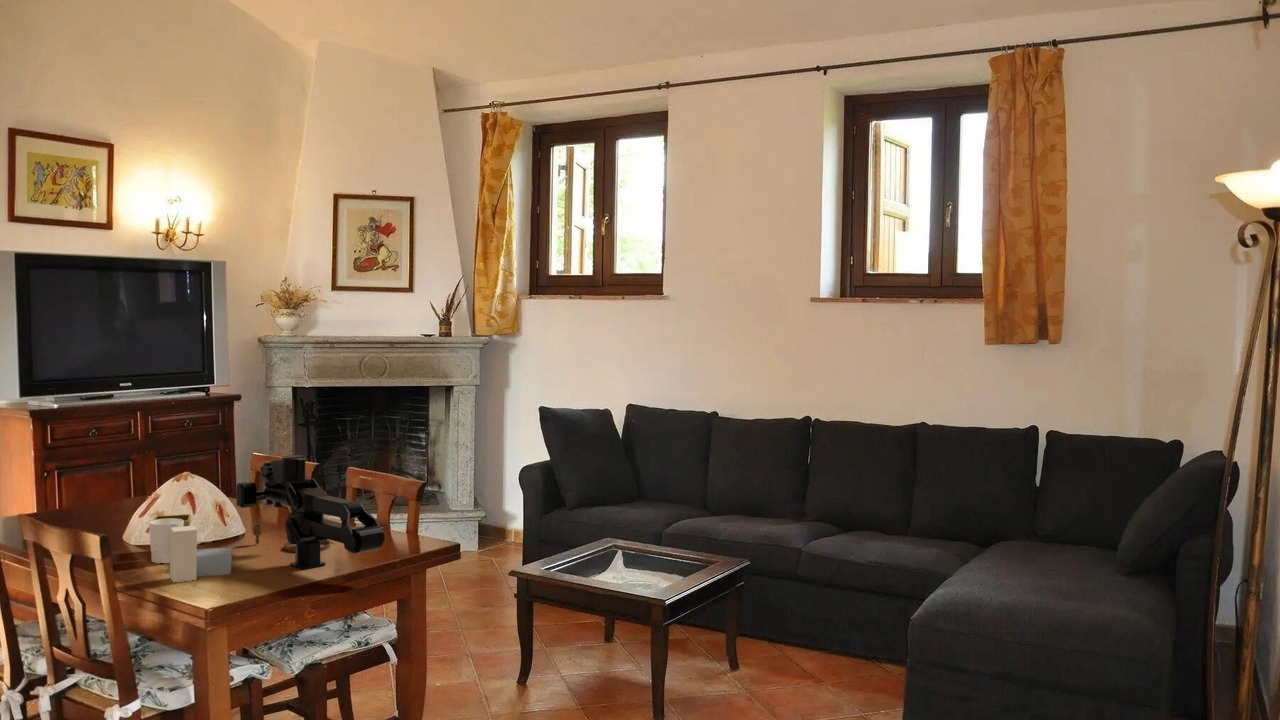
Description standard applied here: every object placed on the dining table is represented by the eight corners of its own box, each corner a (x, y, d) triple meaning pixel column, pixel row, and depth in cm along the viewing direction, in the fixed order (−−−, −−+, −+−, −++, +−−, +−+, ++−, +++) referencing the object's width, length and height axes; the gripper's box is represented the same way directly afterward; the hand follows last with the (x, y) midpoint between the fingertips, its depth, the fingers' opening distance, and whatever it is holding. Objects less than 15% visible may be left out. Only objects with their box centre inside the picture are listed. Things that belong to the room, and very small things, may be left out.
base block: (231, 567, 246) (231, 547, 246) (230, 575, 239) (230, 554, 239) (196, 569, 244) (196, 549, 243) (194, 577, 236) (194, 556, 236)
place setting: (290, 559, 257) (291, 536, 256) (247, 547, 269) (248, 525, 269) (347, 547, 271) (347, 526, 270) (304, 536, 283) (304, 516, 282)
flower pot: (151, 557, 254) (151, 522, 253) (154, 549, 262) (154, 515, 261) (189, 554, 257) (189, 520, 256) (190, 547, 265) (191, 513, 265)
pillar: (192, 575, 237) (193, 525, 236) (196, 580, 233) (196, 529, 232) (170, 577, 234) (170, 527, 234) (173, 582, 230) (173, 531, 230)
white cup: (142, 563, 247) (142, 524, 246) (159, 556, 254) (159, 517, 254) (173, 564, 246) (173, 525, 246) (189, 557, 254) (189, 518, 254)
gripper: (319, 460, 261) (288, 454, 271) (253, 467, 247) (222, 460, 257) (319, 502, 261) (287, 494, 271) (253, 511, 247) (222, 503, 257)
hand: (255, 487), depth 264 cm, fingers open, 9 cm apart
